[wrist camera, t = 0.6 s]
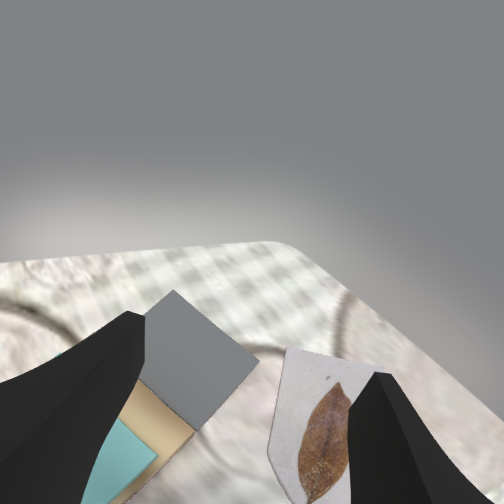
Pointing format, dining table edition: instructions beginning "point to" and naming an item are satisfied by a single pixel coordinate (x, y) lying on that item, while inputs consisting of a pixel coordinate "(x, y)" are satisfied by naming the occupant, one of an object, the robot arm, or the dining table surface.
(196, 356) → the mat
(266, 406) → the dining table surface
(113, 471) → the turquoise rectangular block
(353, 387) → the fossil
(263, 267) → the dining table surface
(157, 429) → the block
